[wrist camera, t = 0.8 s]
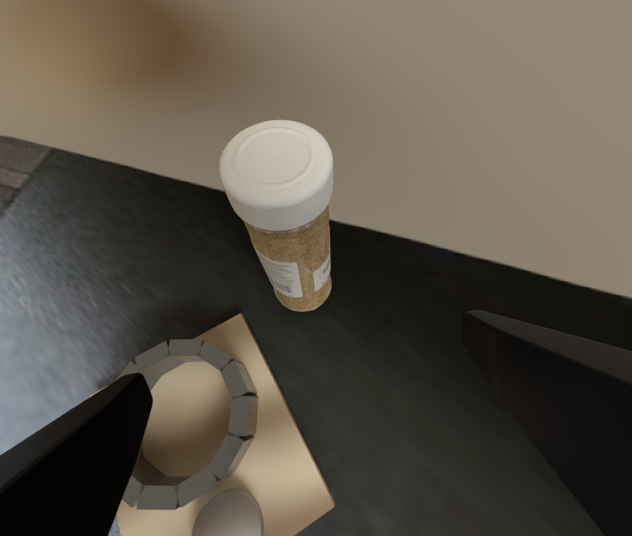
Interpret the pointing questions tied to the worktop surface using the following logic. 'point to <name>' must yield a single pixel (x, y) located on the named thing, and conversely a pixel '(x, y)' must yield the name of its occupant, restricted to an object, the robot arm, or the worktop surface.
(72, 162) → the worktop surface
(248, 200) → the sprinkles bottle
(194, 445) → the carrier plate
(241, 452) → the socket ring
